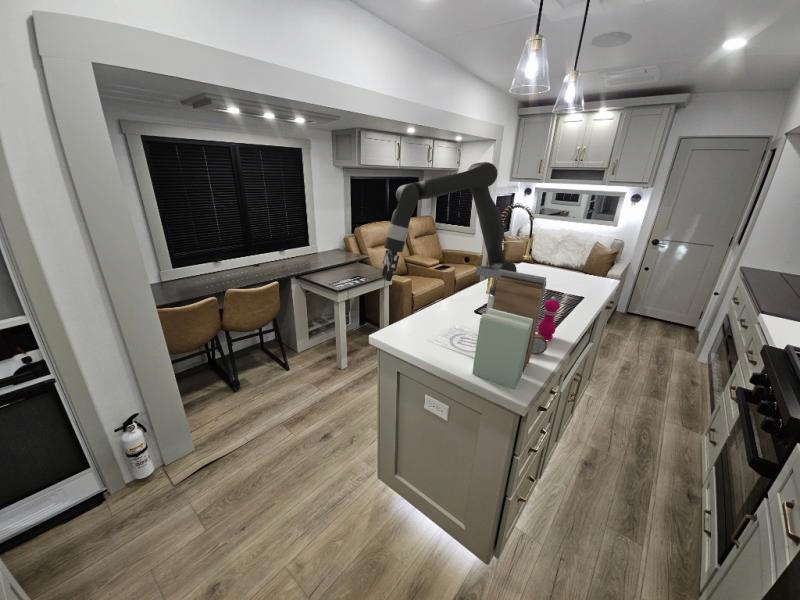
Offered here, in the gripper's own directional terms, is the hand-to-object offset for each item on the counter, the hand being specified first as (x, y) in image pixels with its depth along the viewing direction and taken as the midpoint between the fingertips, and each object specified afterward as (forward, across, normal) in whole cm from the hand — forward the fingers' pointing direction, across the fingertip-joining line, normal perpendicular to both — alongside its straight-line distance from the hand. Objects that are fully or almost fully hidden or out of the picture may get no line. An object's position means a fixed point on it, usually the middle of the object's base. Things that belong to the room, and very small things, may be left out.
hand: (385, 278), depth 125 cm
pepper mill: (+11, -5, -78) cm, 79 cm away
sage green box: (+21, -30, -41) cm, 55 cm away
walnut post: (+18, -21, -50) cm, 57 cm away
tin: (+15, -16, -62) cm, 65 cm away
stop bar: (-12, -20, -40) cm, 46 cm away
